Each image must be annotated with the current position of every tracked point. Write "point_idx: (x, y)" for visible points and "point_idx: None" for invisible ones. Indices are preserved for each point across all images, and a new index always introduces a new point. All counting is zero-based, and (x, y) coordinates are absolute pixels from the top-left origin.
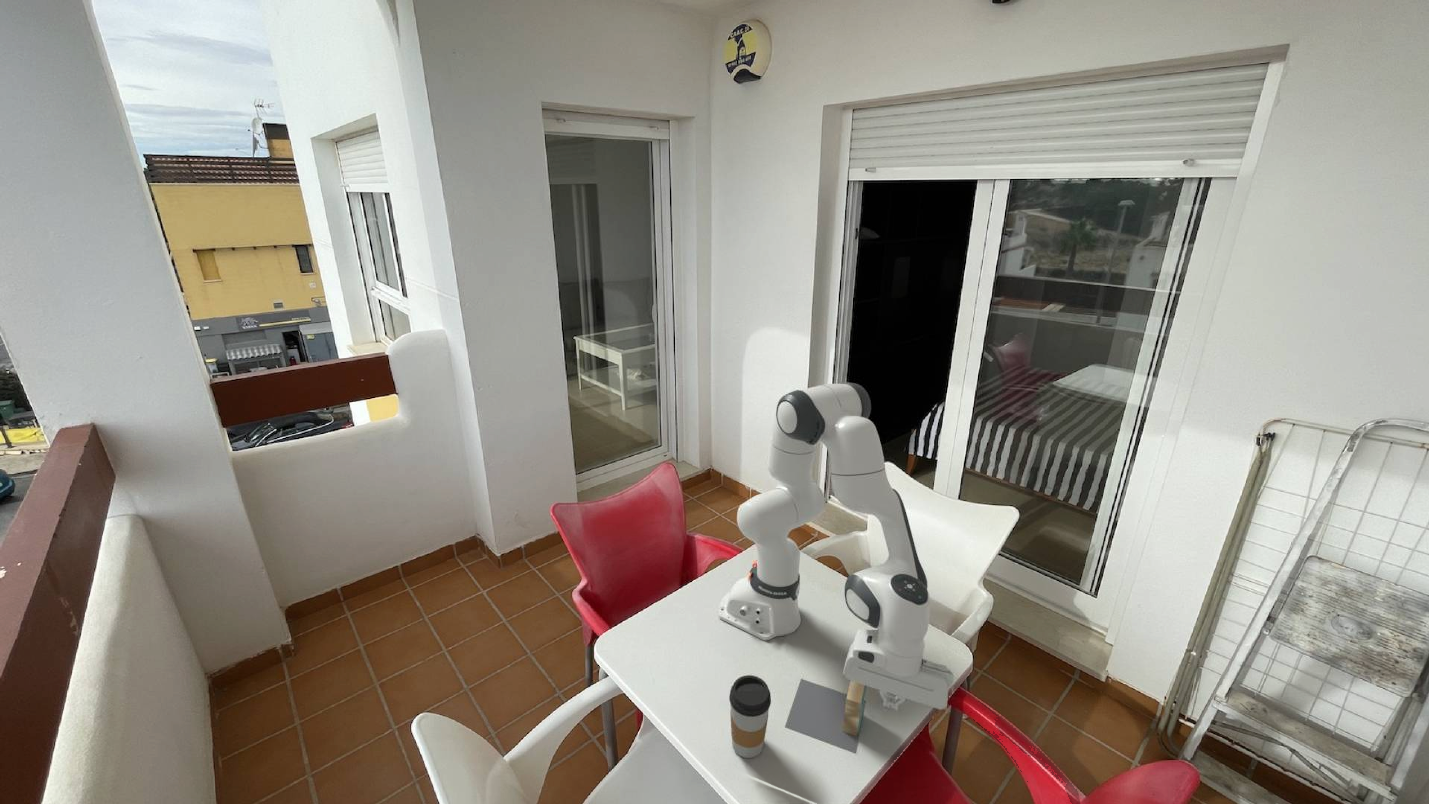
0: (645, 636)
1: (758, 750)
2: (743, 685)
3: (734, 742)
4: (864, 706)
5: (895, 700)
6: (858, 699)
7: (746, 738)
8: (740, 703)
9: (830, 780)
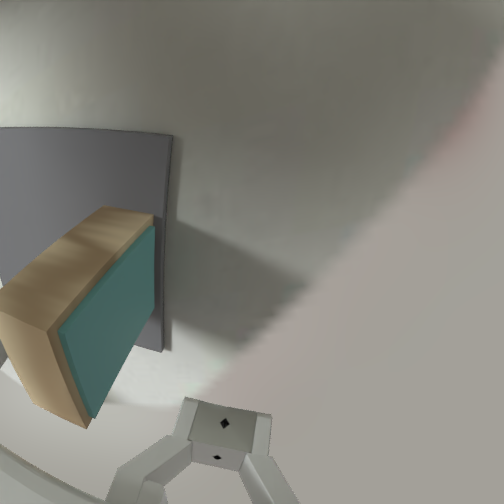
0: None
1: (4, 361)
2: None
3: None
4: (165, 172)
5: (241, 465)
6: (68, 413)
7: None
8: None
9: (127, 390)
